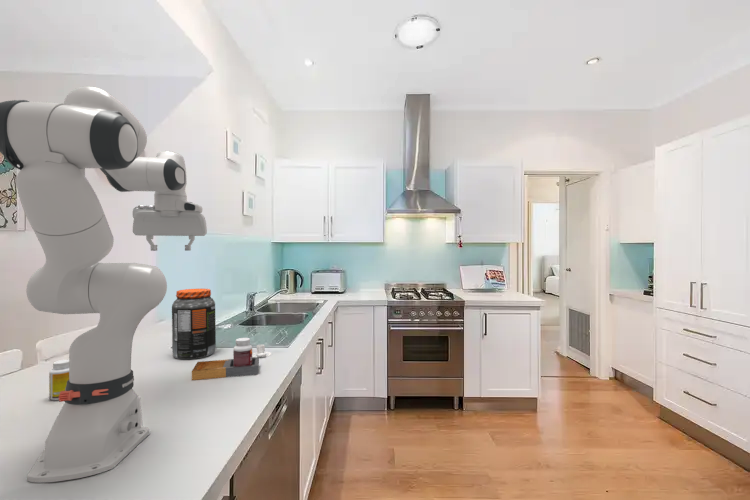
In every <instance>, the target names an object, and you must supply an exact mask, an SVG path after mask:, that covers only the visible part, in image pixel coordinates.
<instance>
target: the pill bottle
mask: <svg viewBox="0 0 750 500" xmlns="http://www.w3.org/2000/svg"><path fill="white" fill-rule="evenodd" d="M232 353H233V354H232V356H233V358H232V359H233V367H235V366H247V365H252V358H253V357H252V354H253V345H251V338H249V337H240V338H236V339H235V346H234V347H233V351H232Z"/></svg>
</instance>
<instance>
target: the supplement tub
mask: <svg viewBox="0 0 750 500" xmlns="http://www.w3.org/2000/svg"><path fill="white" fill-rule="evenodd" d="M211 295H212V291H211V289H210V288H188V289H187V288H186V289H180V290H177V291H176V295H175V296H176V299H175V300H174V301H173V302H172V305H171V328H172V329H171V334H172V335H171V338H172V339H171V341H172V344H171V345H172V348H171V349H172V350H171V351H172V356H173V357H174V358H175V359H179V360H194V359H200V358H206V357H208V356H210V355H212V354H214V352H216V349H217V348H216V347H217V344H216V342H217V339H216V336H217V335H216V334H217V333H216V330H217V329H216V301H215V299H214V298H213V297H211Z"/></svg>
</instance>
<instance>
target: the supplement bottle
mask: <svg viewBox="0 0 750 500" xmlns="http://www.w3.org/2000/svg"><path fill="white" fill-rule="evenodd" d="M48 374H49V376H48V377H49V378H48V382H49V385H48V386H49V389H48V391H49V393H48V394H49V399H50V400H51V401H60V400H59V397H60V396H59V395H60V392H61V391H65V388H66V385H67V381H68V380H69V359H59V360H56V361H54V362H53V363H52V369H50V370H49V373H48Z"/></svg>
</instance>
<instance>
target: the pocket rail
mask: <svg viewBox="0 0 750 500" xmlns="http://www.w3.org/2000/svg"><path fill="white" fill-rule="evenodd" d="M259 369H260V357H257V356H255V357H252V365H247V366H235V367H233V358H229V359H218V360H216V359H215V360H202V361H197V362H196V364H195V365H194V367H193V368H192V370H191V381H200V380H211V379H222V378H234V377H235V378H236V377H246V376H257V375H259Z"/></svg>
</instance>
